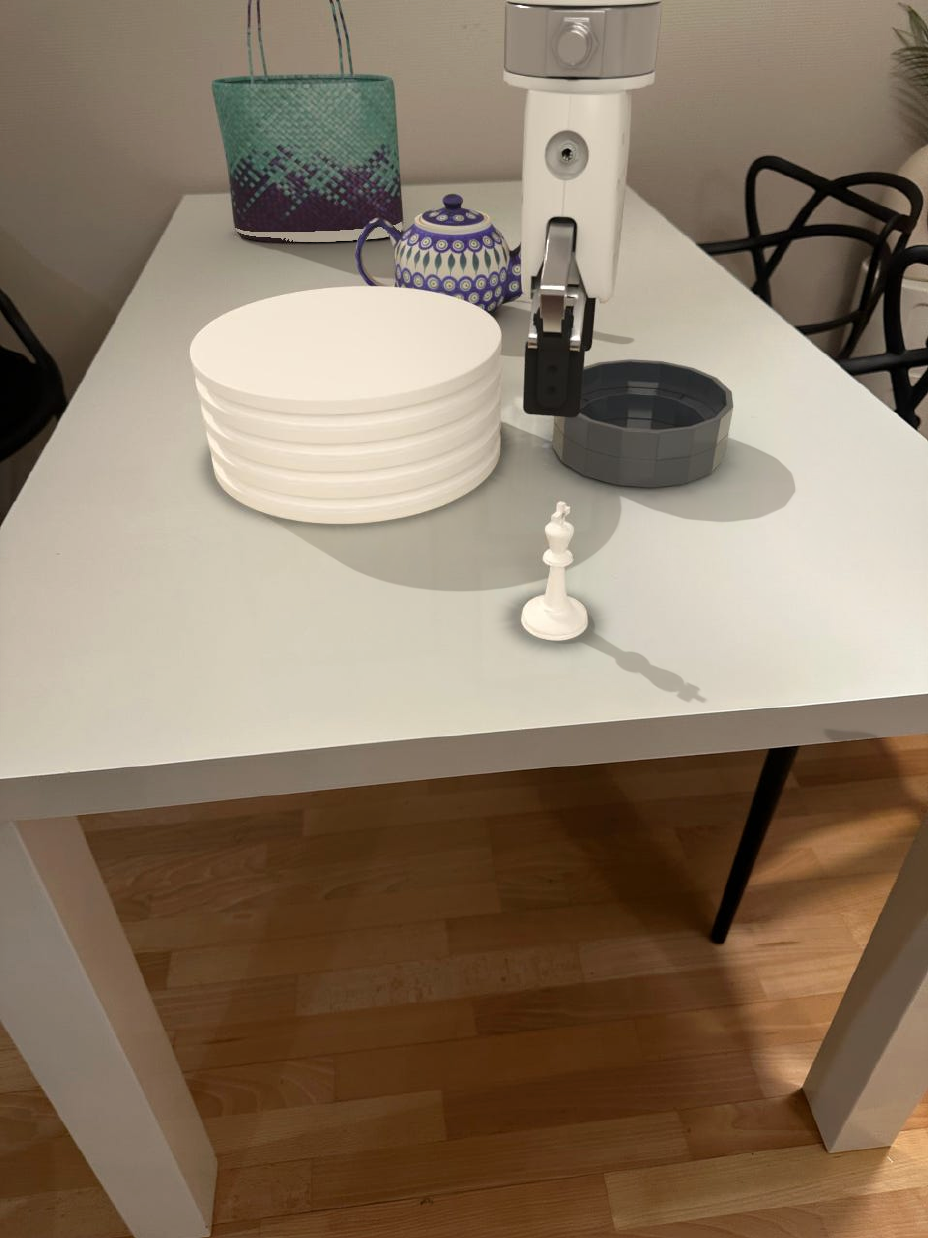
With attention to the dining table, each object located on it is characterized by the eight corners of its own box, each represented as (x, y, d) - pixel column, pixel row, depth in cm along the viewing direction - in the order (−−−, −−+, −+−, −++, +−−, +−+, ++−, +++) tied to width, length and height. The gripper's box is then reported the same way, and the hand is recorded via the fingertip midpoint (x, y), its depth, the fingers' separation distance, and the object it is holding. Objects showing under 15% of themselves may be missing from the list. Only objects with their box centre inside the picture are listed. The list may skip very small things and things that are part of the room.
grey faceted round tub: (719, 420, 92) (728, 364, 88) (725, 499, 80) (737, 438, 76) (562, 410, 95) (565, 355, 91) (544, 485, 82) (547, 424, 78)
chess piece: (507, 625, 66) (510, 507, 60) (544, 593, 69) (550, 478, 63) (564, 650, 63) (573, 530, 57) (600, 616, 66) (611, 498, 60)
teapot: (350, 333, 113) (338, 208, 104) (371, 294, 125) (362, 179, 116) (548, 337, 111) (554, 210, 102) (550, 297, 123) (555, 180, 114)
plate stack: (188, 420, 94) (164, 311, 87) (434, 373, 103) (430, 271, 96) (252, 554, 74) (228, 426, 67) (551, 482, 82) (557, 362, 75)
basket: (407, 223, 154) (392, -69, 130) (401, 243, 145) (383, -69, 120) (244, 225, 155) (199, -66, 131) (227, 244, 146) (174, -65, 121)
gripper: (655, 72, 37) (614, 449, 47) (659, 30, 50) (627, 331, 61) (475, 69, 38) (475, 438, 48) (526, 29, 51) (517, 325, 62)
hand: (559, 378), depth 54 cm, fingers open, 9 cm apart
